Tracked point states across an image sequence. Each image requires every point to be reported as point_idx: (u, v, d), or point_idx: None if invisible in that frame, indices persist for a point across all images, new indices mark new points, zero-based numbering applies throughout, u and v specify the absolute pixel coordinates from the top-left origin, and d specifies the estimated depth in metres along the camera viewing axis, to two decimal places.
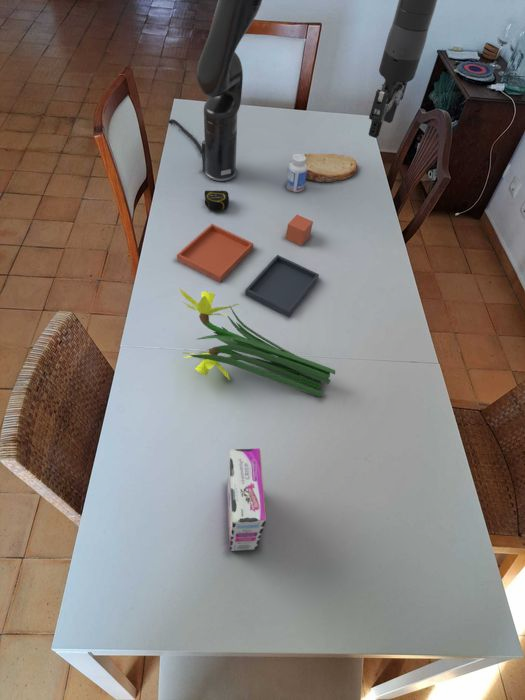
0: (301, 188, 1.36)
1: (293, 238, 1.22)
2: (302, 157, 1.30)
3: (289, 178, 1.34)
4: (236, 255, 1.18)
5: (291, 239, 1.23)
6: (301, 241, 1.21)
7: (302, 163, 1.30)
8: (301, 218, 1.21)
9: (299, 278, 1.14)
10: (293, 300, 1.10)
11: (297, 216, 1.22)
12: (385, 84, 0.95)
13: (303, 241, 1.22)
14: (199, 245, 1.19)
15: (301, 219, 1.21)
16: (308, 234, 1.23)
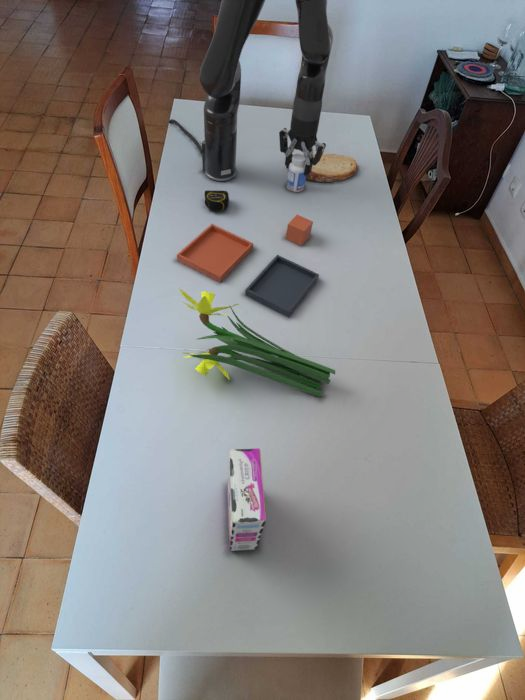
0: (301, 188, 1.36)
1: (293, 238, 1.22)
2: (302, 157, 1.30)
3: (289, 178, 1.34)
4: (236, 255, 1.18)
5: (291, 239, 1.23)
6: (301, 241, 1.21)
7: (302, 163, 1.30)
8: (301, 218, 1.21)
9: (299, 278, 1.14)
10: (293, 300, 1.10)
11: (297, 216, 1.22)
12: None
13: (303, 241, 1.22)
14: (199, 245, 1.19)
15: (301, 219, 1.21)
16: (308, 234, 1.23)
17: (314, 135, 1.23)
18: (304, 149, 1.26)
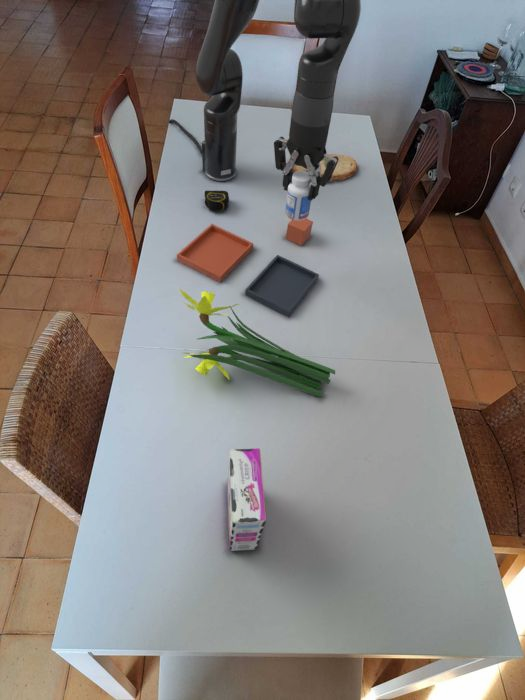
0: (305, 216, 1.02)
1: (293, 238, 1.22)
2: (306, 176, 0.96)
3: (288, 203, 1.00)
4: (236, 255, 1.18)
5: (291, 239, 1.23)
6: (301, 241, 1.21)
7: (306, 183, 0.96)
8: None
9: (299, 278, 1.14)
10: (293, 300, 1.10)
11: None
12: None
13: (303, 241, 1.22)
14: (199, 245, 1.19)
15: None
16: (308, 234, 1.23)
17: (322, 146, 0.88)
18: (309, 165, 0.91)
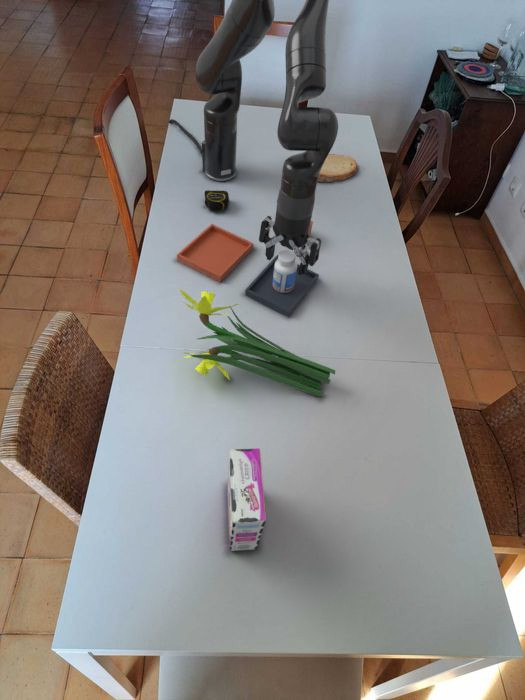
0: (290, 289, 1.10)
1: None
2: (291, 256, 1.05)
3: (275, 278, 1.08)
4: (236, 255, 1.18)
5: None
6: None
7: (291, 263, 1.04)
8: None
9: (299, 278, 1.14)
10: (293, 300, 1.10)
11: None
12: None
13: None
14: (199, 245, 1.19)
15: None
16: (308, 234, 1.23)
17: (305, 233, 0.96)
18: (293, 248, 0.99)
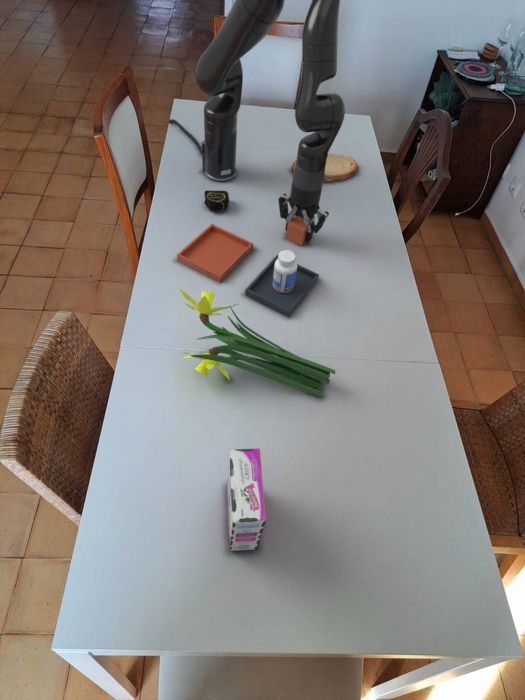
0: (290, 289, 1.10)
1: (293, 238, 1.22)
2: (291, 256, 1.05)
3: (275, 278, 1.08)
4: (236, 255, 1.18)
5: (291, 239, 1.23)
6: (301, 241, 1.21)
7: (291, 263, 1.04)
8: (301, 218, 1.21)
9: (299, 278, 1.14)
10: (293, 300, 1.10)
11: (297, 216, 1.22)
12: None
13: (303, 241, 1.22)
14: (199, 245, 1.19)
15: (301, 219, 1.21)
16: None
17: (316, 204, 1.13)
18: (305, 217, 1.16)
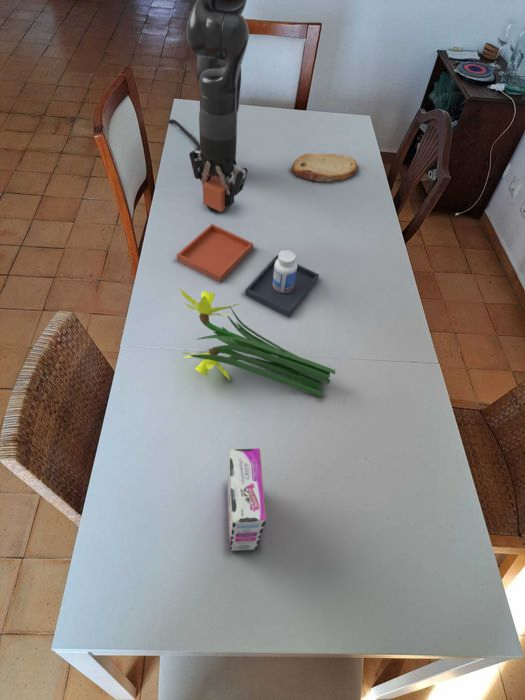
0: (290, 289, 1.10)
1: (211, 203, 1.03)
2: (291, 256, 1.05)
3: (275, 278, 1.08)
4: (236, 255, 1.18)
5: (209, 204, 1.03)
6: (220, 206, 1.02)
7: (291, 263, 1.04)
8: None
9: (299, 278, 1.14)
10: (293, 300, 1.10)
11: (215, 176, 1.03)
12: None
13: (223, 206, 1.03)
14: (199, 245, 1.19)
15: None
16: None
17: (231, 158, 0.94)
18: (221, 175, 0.97)
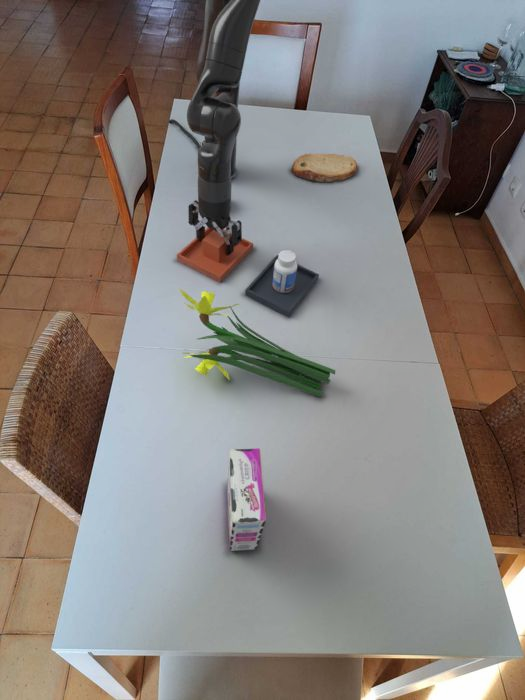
0: (290, 289, 1.10)
1: (210, 255, 1.15)
2: (291, 256, 1.05)
3: (275, 278, 1.08)
4: (236, 255, 1.18)
5: (208, 255, 1.16)
6: (218, 258, 1.14)
7: (291, 263, 1.04)
8: (218, 233, 1.14)
9: (299, 278, 1.14)
10: (293, 300, 1.10)
11: (214, 231, 1.15)
12: None
13: (220, 258, 1.15)
14: (199, 245, 1.19)
15: (217, 235, 1.14)
16: None
17: (226, 216, 1.05)
18: (217, 229, 1.08)
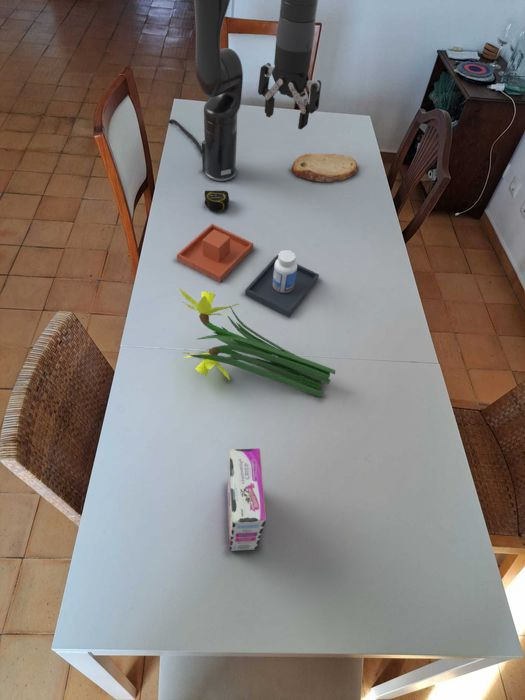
0: (290, 289, 1.10)
1: (210, 255, 1.15)
2: (291, 256, 1.05)
3: (275, 278, 1.08)
4: (236, 255, 1.18)
5: (208, 255, 1.16)
6: (218, 258, 1.14)
7: (291, 263, 1.04)
8: (218, 233, 1.14)
9: (299, 278, 1.14)
10: (293, 300, 1.10)
11: (214, 231, 1.15)
12: None
13: (220, 258, 1.15)
14: (199, 245, 1.19)
15: (217, 235, 1.14)
16: (226, 250, 1.16)
17: (305, 73, 0.95)
18: (292, 93, 0.98)
